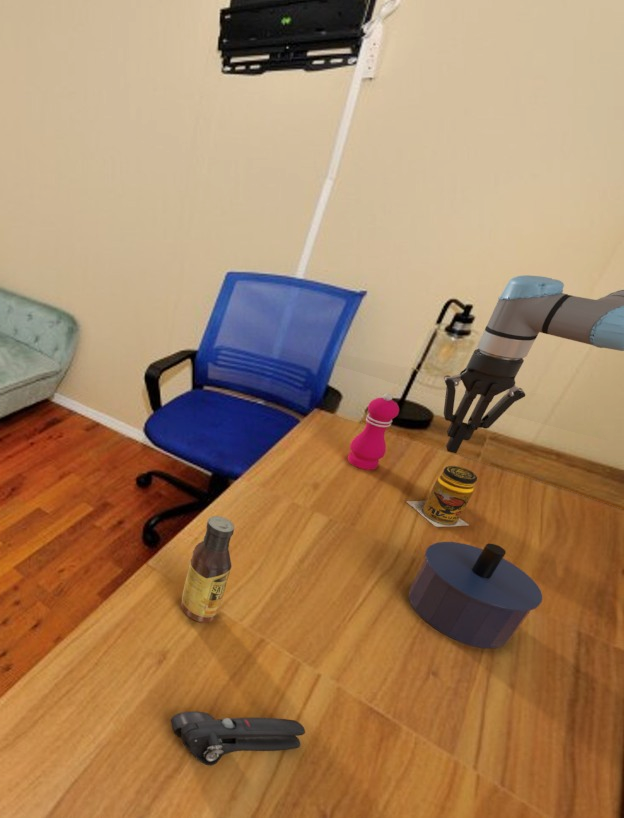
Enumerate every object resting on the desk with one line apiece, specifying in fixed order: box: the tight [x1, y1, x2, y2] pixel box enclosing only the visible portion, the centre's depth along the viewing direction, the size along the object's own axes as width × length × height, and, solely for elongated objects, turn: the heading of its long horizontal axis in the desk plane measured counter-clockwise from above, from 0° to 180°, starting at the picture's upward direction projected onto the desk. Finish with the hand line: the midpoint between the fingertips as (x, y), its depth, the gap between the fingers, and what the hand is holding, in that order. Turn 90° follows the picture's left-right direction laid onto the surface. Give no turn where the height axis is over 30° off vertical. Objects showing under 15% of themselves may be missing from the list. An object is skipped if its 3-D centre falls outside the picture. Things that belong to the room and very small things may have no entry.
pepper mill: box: [347, 393, 400, 471], centre depth 125 cm, size 7×7×20 cm
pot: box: [407, 558, 532, 649], centre depth 87 cm, size 14×14×10 cm
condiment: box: [405, 465, 478, 528], centre depth 109 cm, size 7×8×12 cm
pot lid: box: [424, 541, 543, 612], centre depth 83 cm, size 15×15×7 cm
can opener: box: [170, 711, 306, 766], centre depth 70 cm, size 18×7×6 cm, turn 90°
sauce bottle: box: [180, 515, 235, 624], centre depth 86 cm, size 7×6×20 cm
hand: (451, 449), depth 113 cm, fingers closed
